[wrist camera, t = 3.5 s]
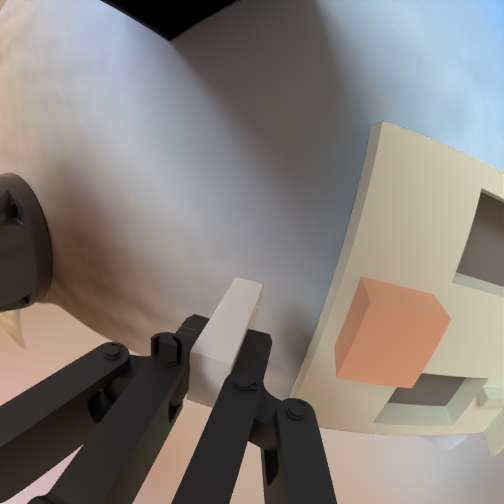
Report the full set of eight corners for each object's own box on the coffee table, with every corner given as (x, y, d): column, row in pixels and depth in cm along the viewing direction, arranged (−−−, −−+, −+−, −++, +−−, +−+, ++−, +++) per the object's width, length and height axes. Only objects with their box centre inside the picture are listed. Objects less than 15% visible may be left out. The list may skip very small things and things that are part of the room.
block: (334, 346, 17) (336, 377, 14) (361, 276, 16) (370, 301, 13) (401, 358, 17) (411, 388, 14) (433, 293, 15) (451, 318, 12)
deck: (289, 396, 23) (279, 455, 17) (371, 126, 15) (402, 111, 9) (480, 413, 20) (496, 454, 14) (574, 227, 13) (616, 249, 7)
